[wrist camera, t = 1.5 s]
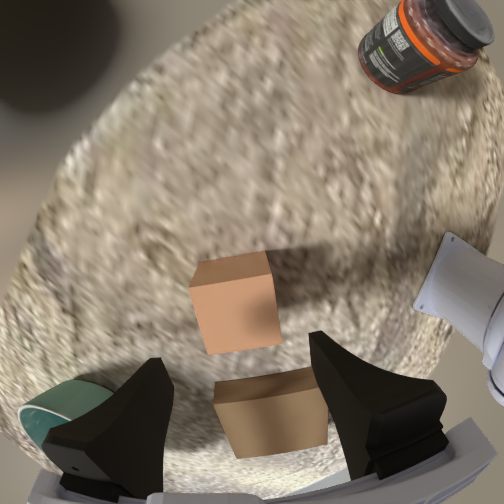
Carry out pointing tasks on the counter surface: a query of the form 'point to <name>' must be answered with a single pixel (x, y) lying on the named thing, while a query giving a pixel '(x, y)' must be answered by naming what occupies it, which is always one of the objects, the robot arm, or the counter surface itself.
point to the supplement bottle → (424, 43)
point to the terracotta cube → (236, 303)
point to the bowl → (59, 407)
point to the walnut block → (272, 413)
